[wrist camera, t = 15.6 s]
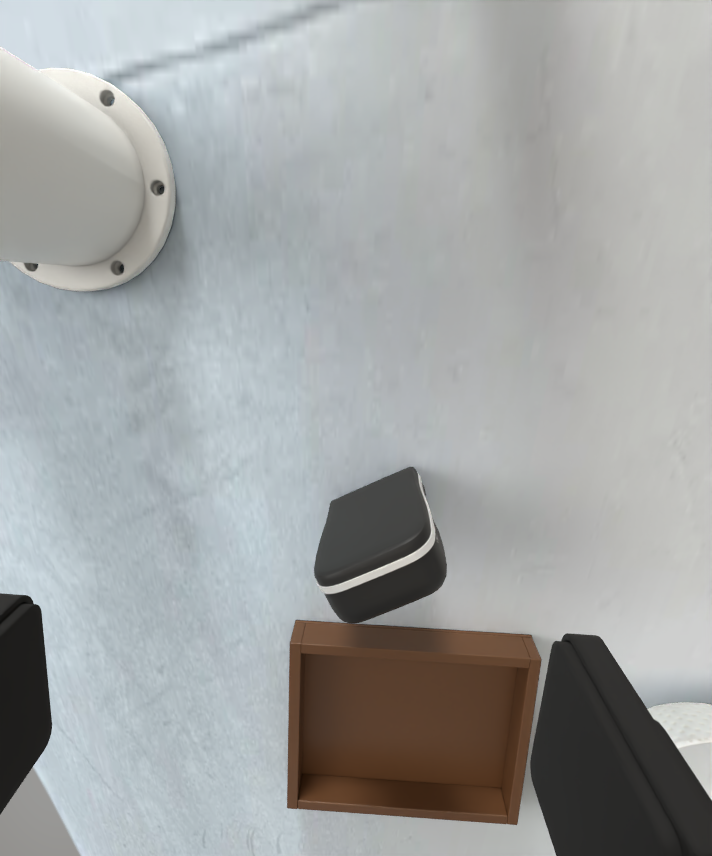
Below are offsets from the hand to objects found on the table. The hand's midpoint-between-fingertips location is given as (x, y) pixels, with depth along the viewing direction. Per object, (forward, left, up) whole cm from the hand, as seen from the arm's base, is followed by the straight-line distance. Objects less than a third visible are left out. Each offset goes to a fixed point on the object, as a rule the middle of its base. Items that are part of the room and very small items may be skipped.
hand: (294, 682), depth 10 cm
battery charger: (+2, -8, -28) cm, 29 cm away
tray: (+5, -25, -28) cm, 38 cm away
